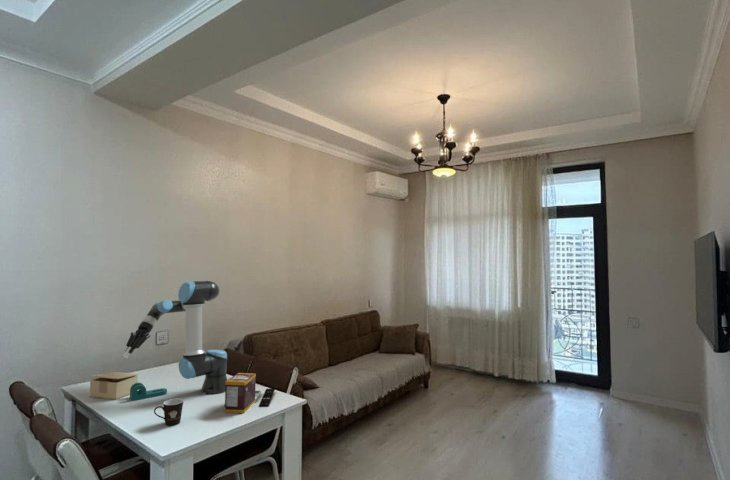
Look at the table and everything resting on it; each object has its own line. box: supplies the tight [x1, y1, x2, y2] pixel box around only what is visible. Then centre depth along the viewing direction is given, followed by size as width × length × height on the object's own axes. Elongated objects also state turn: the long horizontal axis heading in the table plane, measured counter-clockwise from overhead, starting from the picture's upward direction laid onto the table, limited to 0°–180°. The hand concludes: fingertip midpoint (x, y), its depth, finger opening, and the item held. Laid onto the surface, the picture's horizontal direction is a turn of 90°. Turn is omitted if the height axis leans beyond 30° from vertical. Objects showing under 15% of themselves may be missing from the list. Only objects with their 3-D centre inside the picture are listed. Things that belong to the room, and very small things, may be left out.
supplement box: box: [224, 372, 257, 414], centre depth 203 cm, size 10×15×16 cm
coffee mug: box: [153, 398, 184, 427], centre depth 182 cm, size 12×9×10 cm
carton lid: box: [90, 371, 139, 379], centre depth 220 cm, size 14×18×1 cm
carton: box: [89, 375, 138, 401], centre depth 219 cm, size 14×18×9 cm
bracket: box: [129, 382, 168, 402], centre depth 217 cm, size 18×7×8 cm, turn 129°
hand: (124, 357), depth 226 cm, fingers closed
